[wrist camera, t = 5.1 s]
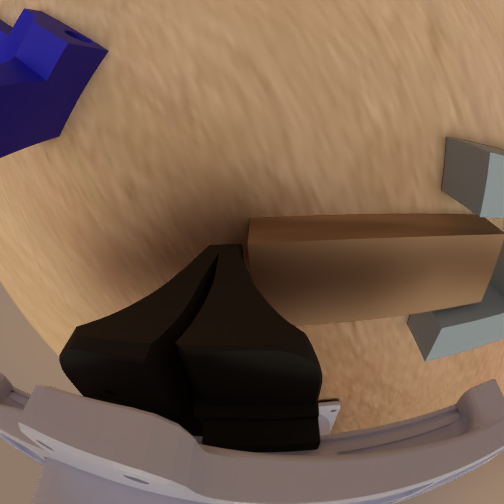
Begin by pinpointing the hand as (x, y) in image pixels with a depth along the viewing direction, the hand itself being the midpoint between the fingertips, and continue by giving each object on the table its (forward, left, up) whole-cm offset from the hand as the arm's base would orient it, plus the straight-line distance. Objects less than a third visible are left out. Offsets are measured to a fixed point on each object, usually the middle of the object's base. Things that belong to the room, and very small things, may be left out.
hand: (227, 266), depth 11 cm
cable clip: (+12, +10, -1) cm, 16 cm away
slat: (0, -7, -1) cm, 7 cm away
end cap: (0, -14, -1) cm, 14 cm away
